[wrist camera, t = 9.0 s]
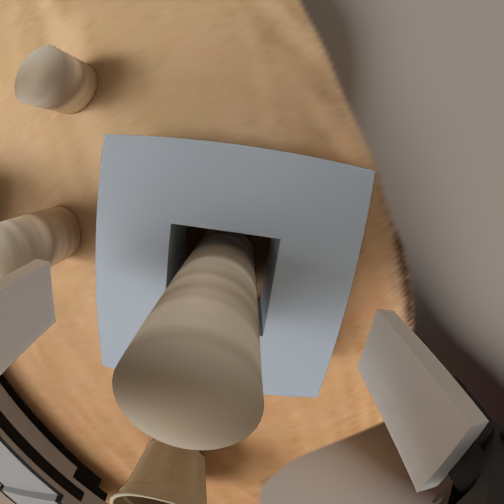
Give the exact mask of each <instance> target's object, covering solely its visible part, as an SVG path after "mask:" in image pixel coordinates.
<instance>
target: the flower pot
mask: <svg viewBox="0 0 504 504" xmlns="http://www.w3.org/2000/svg"><path fill="white" fill-rule="evenodd" d="M110 504H207V496H206V476H205V457H204V456H203V455H202V454H201V453H200V451H199V450H190V449H183V448H179V447H174V446H171V445H168V444H165V443H163V442H160V441H158V440H156V439H155V440H152V441H151V442H150V443H149V444H148V445H147V447H146V449H145V451H144V453H143V454H142V456H141V458H140V460H139V462H138V463H137V465H136V467H135V469H134V470H133V472H132V474H131V476H130V477H129V479H128V481H127V482H126V484H125V485H124V486H122V487H121V488H120V489H119V491H118V493H116V494H114V495H112V496H111V498H110Z"/></svg>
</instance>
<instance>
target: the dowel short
mask: <svg viewBox="0 0 504 504" xmlns="http://www.w3.org/2000/svg"><path fill="white" fill-rule="evenodd" d="M97 83H98V79H97V74H96V72H95V70H94V69H93V68H92V67H91V66H89V65H87V64H85V63H84V62H82V61H80V60H78V59H77V58H75V57H73V56H71V55H69V54H67V53H66V52H64V51H62V50H60V49H58V48H56V47H54V46H52V45H44V46H41V47H39V48H37V49H35V50H34V51H33V52H32V53H31V54H29V56H28V57H27V58H26V59H25V60H24V62H23V63H22V65H21V67H20V69H19V71H18V73H17V77H16V81H15V94H16V97H17V99H18V100H19V101H20V102H21V103H23V104H27V105H32V106H36V107H41V108H45V109H49V110H53V111H58V112H62V113H66V114H74V113H77V112H79V111H81V110H82V109H83V108H85V107H86V106H87V105H88V104H89V102H90V101H91V100H92V98H93V96H94V94H95V92H96V88H97Z"/></svg>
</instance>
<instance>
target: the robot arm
mask: <svg viewBox="0 0 504 504" xmlns="http://www.w3.org/2000/svg"><path fill="white" fill-rule="evenodd" d="M55 322H56V319H55V312H54V304H53V295H52V285H51V272H50V262H49V261H44V260H40V259H35V260H33V261H31V262H30V263H28V264H26V265H24V266H22V267H20V268H18V269H16V270H15V271H13V272H11V273H9V274H7V275H6V276H4V277H2V278H0V375H1V374H2V373H3V372H4V371H5V370H6V369H7V368H8V367H9V366H10V365H11V364H12V363H13V362H14V361H15V360H16V359H17V358H18V357H19V356H20V355H21V354H22V353H23V352H24V351H25V350H26V349H27V348H28V347H29V346H30V345H31V344H32V343H33V342H34V341H35V340H36V339H37V338H39V337H40V336H41V335H42V334H43V333H44V332H45V331H46V330H47V329H48V328H49V327H50V326H51V325H52V324H53V323H55ZM357 368H358V370H359V372H360V374H361V376H362V378H363V380H364V382H365V383H366V385H367V387H368V389H369V391H370V393H371V395H372V397H373V400H374V402H375V404H376V406H377V408H378V410H379V412H380V414H381V416H382V418H383V420H384V422H385V424H386V426H387V428H388V430H389V432H390V434H391V436H392V439H393V441H394V443H395V445H396V447H397V449H398V451H399V454H400V456H401V458H402V460H403V462H404V464H405V467H406V469H407V471H408V473H409V475H410V478H411V480H412V482H413V484H414V487H415V489H416V491H417V492H419V491H422V490H426V489H429V488H432V487H435V486H437V485H438V484H439V483H440V482H441V481H442V480H443V479H444V478H445V477H446V476H447V475H449V476H450V478H451V480H452V481H451V482H450V483H449V484H448V485H447V486H446V487H445V488H444V489H443V490H442V491H441V492H440V493H439V494H438V495H437V496H436V497H435V498H434V500H433V503H436V502H437V501H438V500H439V499H440V498H441V497H442V496H443V499H442V502H440V503H439V504H504V423H500V424H498V425H497V424H496V423H495V422H494V421H493V419H492V418H491V417H490V416H489V414H488V413H487V412H486V411H485V409H484V408H483V407H482V406H481V405H480V403H479V402H478V401H477V400H476V399H474V396H473V395H472V394H471V392H470V391H467V390H468V389H467V388H466V387H465V385H464V384H463V383H462V382H461V381H460V380H459V379H458V378H456V377H455V376H454V375H452V374H451V373H449V372H448V371H447V370H446V368H445V367H444V366H443V365H442V364H441V363H440V361H439V360H438V359H437V358H436V357H435V356H434V355H433V354H432V352H431V351H430V350H429V349H428V348H427V347H426V346H425V345H424V343H422V341H421V340H420V339H419V338H418V337H417V336H416V335H415V333H414V332H413V331H412V330H411V329H410V328H409V327H408V326H407V325H406V324H405V323H404V321H403V320H402V319H401V318H400V317H399V316H398V315H397V314H396V313H395V312H394V311H392V310H380V309H377V311H376V314H375V318H374V321H373V324H372V327H371V330H370V333H369V336H368V338H367V341H366V344H365V347H364V350H363V352H362V355H361V358H360V361H359V363H358V366H357Z"/></svg>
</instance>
